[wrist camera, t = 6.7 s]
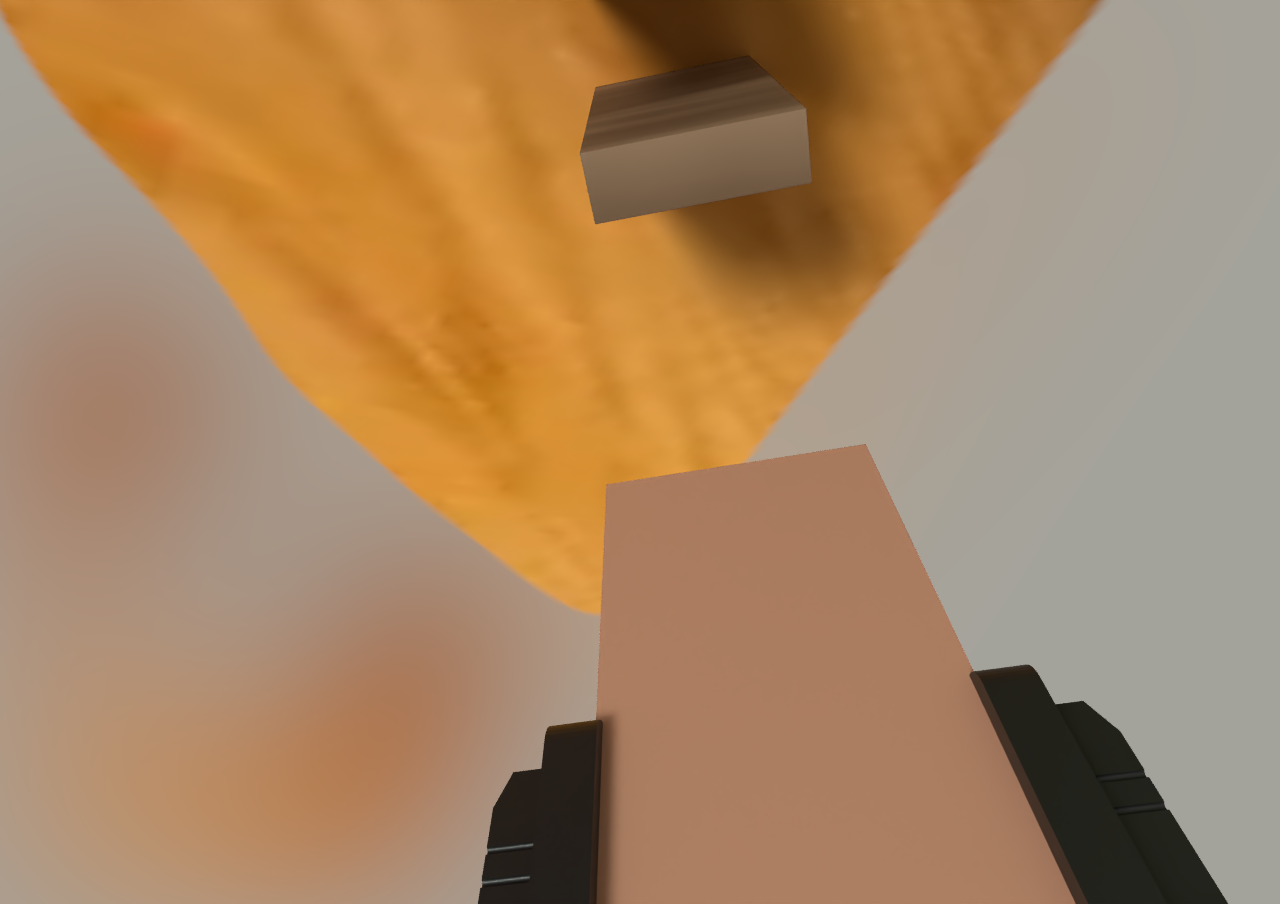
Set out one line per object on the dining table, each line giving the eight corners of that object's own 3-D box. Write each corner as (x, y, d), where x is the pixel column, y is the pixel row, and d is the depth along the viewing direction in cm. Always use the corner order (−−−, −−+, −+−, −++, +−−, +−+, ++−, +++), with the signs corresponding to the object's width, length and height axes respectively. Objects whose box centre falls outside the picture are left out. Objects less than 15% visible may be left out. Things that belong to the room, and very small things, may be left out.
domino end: (606, 484, 16) (580, 1082, 8) (865, 444, 16) (1143, 1027, 7) (621, 548, 17) (613, 1153, 8) (868, 512, 17) (1120, 1108, 8)
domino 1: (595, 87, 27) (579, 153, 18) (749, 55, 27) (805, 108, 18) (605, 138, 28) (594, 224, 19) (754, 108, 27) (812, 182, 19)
